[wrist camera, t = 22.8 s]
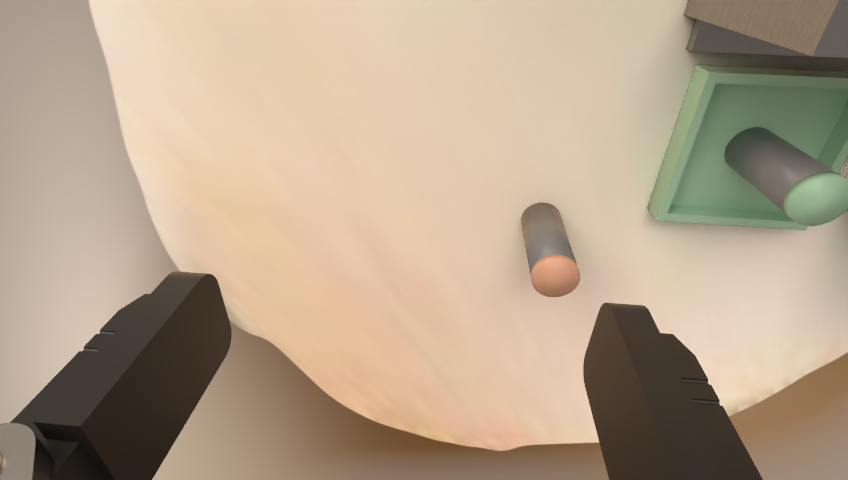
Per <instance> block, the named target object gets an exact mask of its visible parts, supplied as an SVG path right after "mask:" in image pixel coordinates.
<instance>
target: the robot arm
mask: <svg viewBox="0 0 848 480" xmlns="http://www.w3.org/2000/svg"><path fill="white" fill-rule="evenodd" d="M230 343H231V326H230V322H229V319H228V315H227V312H226V308H225V305H224V301H223V298H222V295H221V291H220V288H219V284H218V282H217V279H216V278H215V277H214V276H213V275H211V274H203V273H189V272H173V273H171V274H169V275H168V276H167V277H166V278H165V279H164V280H163V281H162V282H161V283H160V284H159V285H158V287H157V288H156V289H155V290H154V291H153V292H152V293H151V294H144V295H143V296H141V297H140V298H138V299H136V300H135V301H133V302H132V303H130V304H129V305H127V306H125V307H124V308H122V309H121V310H119V311H118V312H117V313H116V314H115V315H114V316H113V317H112V318H111V319H110V320H109V321H108V322H107V323H106V324H105V325H104V327H103V328H102V329H101V330H100V334H96V335H95V336H94V337H93V338H92V339H91V340H90V341H89V342H88V343H87V344H86V345H85V346H84V350H83V351H82V352H81V351H79V352H78V353H77V354H76V355H75V357H74V358H73V359H72V360H71V361H70V362H69V363H68V364H67V365H66V366H65V367H64V368H63V369H62V370H61V371H60V372H59V373H58V374H57V375H56V376H55V377H54V378H53V379H52V380H51V381H50V382H49V383H48V385H46V386H45V387H44V389H43V390H42V391H41V392H40V393H39V394H38V395H37V396H36V397H35V398H34V399H33V400H32V401H31V402H30V403H29V404H28V405H27V406H26V407H25V408H24V409H23V410H22V411H21V412H20V413H19V415H17V416H16V417H15V418H14V419H13V420H12V421H11V422H10V423H4V424H0V480H152V478H153V477H154V475H155V474H156V472H157V470H158V469H159V467H160V465H161V464H162V462H163V460H164V459H165V457H166V455H167V454H168V452H169V450H170V449H171V447H172V445H173V443H174V442H175V440H176V439H177V437H178V435H179V434H180V432H181V430H182V429H183V427H184V425H185V424H186V422H187V420H188V418H189V417H190V415H191V414H192V412H193V410H194V409H195V407H196V405H197V404H198V402H199V400H200V398H201V396H202V395H203V394H204V392H205V390H206V388H207V387H208V385H209V383H210V382H211V380H212V379H213V377H214V375H215V374H216V372H217V370H218V369H219V367H220V365H221V363H222V362H223V360H224V358H225V357H226V355H227V352H228V350H229V347H230ZM583 372H584V383H585V388H586V392H587V395H588V399H589V403H590V407H591V411H592V415H593V419H594V422H595V426H596V430H597V434H598V438H599V442H600V446H601V450H602V453H603V457H604V460H605V465H606V469H607V473H608V476H609V480H762V477H761V476H760V474H759V472H758V470H757V468H756V466H755V465H754V463H753V461H752V459H751V457H750V455H749V454H748V452H747V450H746V448H745V446H744V445H743V443H742V441H741V439H740V437H739V435H738V433H737V432H736V430H735V428H734V426H733V424H732V422H731V421H730V419H729V417H728V415H727V413H726V411H725V410H724V408H723V406H720V405H719V401H720V400H719V399H718V397H717V395H716V393H715V391H714V389H713V388H712V386H711V385H709V384H708V378H707V377H706V375H705V373H704V371H703V369H702V367H701V366H700V364H699V362H698V360H697V358H696V357H695V355H694V354H693V353H692V352H691V351H690V350H689V349H688V348H687V347H685V346H684V345H683V344H682V343H681V342H680V341H679V340H678V339H677V338H676V337H675V336H674V335H673V334H663V333H660V332H659V330H658V328H657V326H656V324H655V322H654V320H653V318H652V316H651V314H650V312H649V310H648V309H647V308H646V307H645V306H642V305H629V304H615V303H604V304H603V305H602V306H601V308H600V310H599V313H598V316H597V319H596V322H595V326H594V329H593V332H592V335H591V338H590V341H589V344H588V347H587V351H586V354H585V358H584V371H583Z"/></svg>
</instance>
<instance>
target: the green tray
mask: <svg viewBox="0 0 848 480" xmlns="http://www.w3.org/2000/svg"><path fill="white" fill-rule="evenodd" d="M753 127H761V128H765V129H767V130H769V131H771V132H772V133H774V134H776V135H777V136H779V137H780V138H782V139H784V140H785V141H787V142H788V143H790V144H792V145H793V146H795V147H796V148H798V149H800V150H801V151H803V152H804V153H806V154H808V155H809V156H811V157H813V158H814V159H816V160H817V161H819V162H821V163H822V164H824V165H825V166H827V167H829V168H830V169H832V170H833V171H835V172H837V173H839V171H840V169H841V167H842V166H843V164H844V162H845V161H846V159H847V157H848V72H842V71H819V70H796V69H773V68H750V67H727V66H704V65H696V67H695V70H694V73H693V76H692V78H691V81H690V84H689V87H688V90H687V93H686V96H685V99H684V102H683V105H682V108H681V111H680V114H679V117H678V119H677V122H676V125H675V128H674V131H673V134H672V137H671V140H670V143H669V146H668V149H667V152H666V155H665V157H664V160H663V163H662V166H661V169H660V172H659V175H658V178H657V181H656V184H655V187H654V190H653V193H652V196H651V198H650V201H649V204H648V207H647V208H648V209H649V211H650V212H651V214H652V215H653V217H654V218H655V220H657V221H673V222H688V223H704V224H720V225H735V226H751V227H767V228H782V229H798V230H805V229H806V228H807V226H804V225H800V224H798V223H796V222H795V221H794V220H792V219H791V218H790V217H789V216H788V215H787V214H785V213H784V212H783V211H782V210H781V209H780V208H778V207H777V206H776V205H775V204H774V203H772V202H771V201H770V200H769V199H768V198H767V197H765V196H764V195H763V194H762V193H761V192H760V191H758V190H757V189H756V188H755V187H754V186H753V185H751V184H750V183H749V182H748V181H747V180H746V179H744V178H743V177H742V176H741V175H740V174H738V173H737V172H736V171H735V170H734V169H733V168H731V167H730V166H729V165H728V164H727V163H726V161H725V156H724V154H725V149H726V147H727V145H728V143H729V142H730V140H731V139H732V138H733V137H734V136H736V135H737V134H738V133H740V132H742V131H744V130H746V129H749V128H753Z"/></svg>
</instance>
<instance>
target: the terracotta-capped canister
mask: <svg viewBox="0 0 848 480" xmlns="http://www.w3.org/2000/svg"><path fill="white" fill-rule="evenodd" d="M521 224H522V230H523V235H524V241H525V246H526V252H527V257H528V263H529V268H530V274H531V279H532V284H533V287H534V288H535V290H536V291H537V292H539V293H540V294H542V295H544V296H548V297H560V296H564V295H566V294H568V293H570V292H572V291H573V290H574V289H575V288H576V287H577V285H578V283H579V281H580V273H579V270H578V267H577V264H576V261H575V258H574V255H573V252H572V249H571V246H570V243H569V240H568V237H567V234H566V231H565V228H564V225H563V222H562V219H561V216H560V213H559V211H558V210H557V208H556V207H554V206H553V205H551V204H548V203H537V204H534V205H532V206H530V207H528V208H527V209H526V210H525V211H524V213H523V215H522V218H521Z"/></svg>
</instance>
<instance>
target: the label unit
mask: <svg viewBox="0 0 848 480" xmlns="http://www.w3.org/2000/svg"><path fill="white" fill-rule="evenodd" d="M684 15H686V16H689V17H692V18H695V19H696V20H695V24H694V27H693V30H692V33H691V36H690V39H689V42H688V45H687V48H686V49H687V50H689V51H691V52H714V53H738V54H762V55H786V56H810V57H834V58H848V0H689V1H688V4H687V7H686V10H685V14H684Z"/></svg>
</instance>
